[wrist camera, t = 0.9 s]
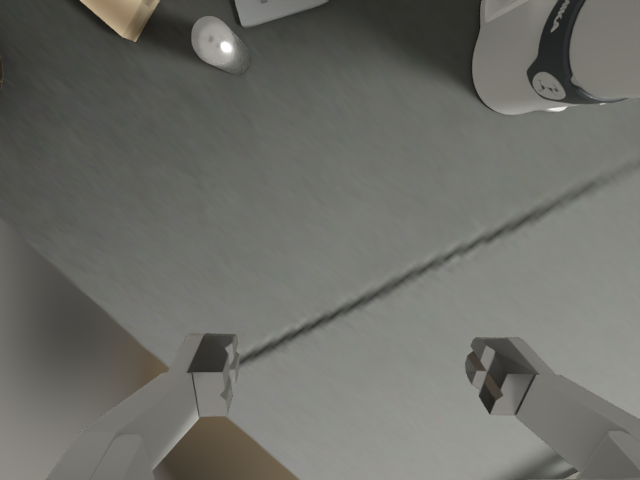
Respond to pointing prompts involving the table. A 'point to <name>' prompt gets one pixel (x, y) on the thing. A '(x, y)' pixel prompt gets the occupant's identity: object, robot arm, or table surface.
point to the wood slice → (1, 72)
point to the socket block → (124, 14)
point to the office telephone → (271, 9)
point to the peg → (220, 46)
